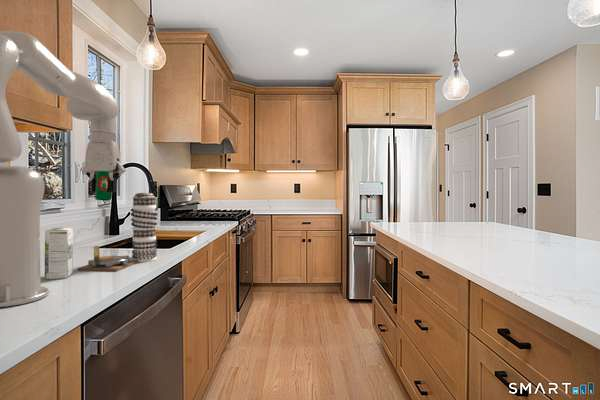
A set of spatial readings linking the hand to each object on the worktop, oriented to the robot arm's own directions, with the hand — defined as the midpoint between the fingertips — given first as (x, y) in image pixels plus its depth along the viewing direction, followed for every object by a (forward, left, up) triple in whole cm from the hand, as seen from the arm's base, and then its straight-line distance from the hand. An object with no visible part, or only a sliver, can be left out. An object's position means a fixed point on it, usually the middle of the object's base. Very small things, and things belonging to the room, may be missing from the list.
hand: (103, 191), depth 114 cm
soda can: (0, 0, -3) cm, 3 cm away
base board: (-2, -3, -26) cm, 26 cm away
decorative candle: (+10, -9, -26) cm, 29 cm away
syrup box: (-16, +4, -26) cm, 30 cm away
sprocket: (-1, -3, -24) cm, 25 cm away
